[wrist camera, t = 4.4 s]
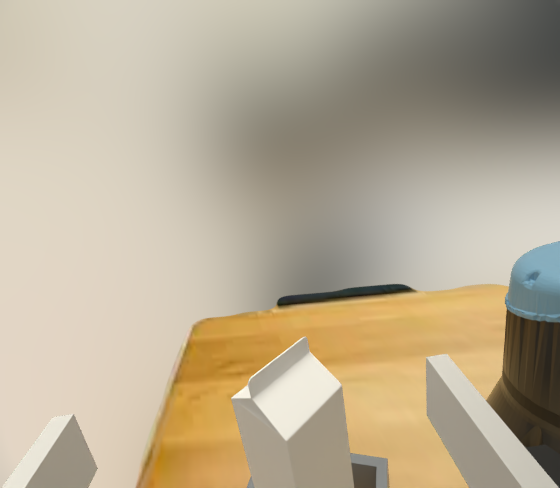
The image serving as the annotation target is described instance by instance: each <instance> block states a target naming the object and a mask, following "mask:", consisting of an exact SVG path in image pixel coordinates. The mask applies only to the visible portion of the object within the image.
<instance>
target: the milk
mask: <svg viewBox="0 0 560 488" xmlns="http://www.w3.org/2000/svg"><path fill="white" fill-rule="evenodd" d="M231 400H232V403H233V407H234V411H235V415H236V419H237V423H238V427H239V430H240V434H241V438H242V442H243V446H244V450H245V454H246V457H247V461H248V465H249V469H250V473H251V477H252V481H253V484H254V488H354V482H353V474H352V465H351V457H350V449H349V440H348V432H347V424H346V416H345V407H344V399H343V391H342V385H341V383H340V382H339V381H338V380H337V379H336V378H335V377H334V376H333V375H332V374H331V373H330V372H329V371H328V370H327V369H326V368H325V367H324V366H323V365H322V364H321V363H320V362H319V361H318V360H317V359H316V358H315V357H314V356H313V355H312V354H311V353H310V351H309V345H308V339H307V338H306V337H303V338H301V339H300V340H299V341H297V342H296V343H295V344H293V345H292V346H291V347H289V348H288V349H287V350H286V351H284V352H283V353H282V354H280V355H279V356H278V357H276V358H275V359H274V360H273V361H271V362H270V363H269V364H267V365H266V366H265V367H263V368H262V369H261V370H260V371H258V372H257V373H256V374H254V375H253V376H252V377H251V378H250V379H249V381H248V385H247V386H246V387H245V388H243V389H242V390H241V391H239V392H238V393H237V394H236V395H234V396H233V397H232V398H231Z"/></svg>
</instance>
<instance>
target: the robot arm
mask: <svg viewBox="0 0 560 488" xmlns="http://www.w3.org/2000/svg"><path fill="white" fill-rule="evenodd" d="M505 304H506V307H507V315H506V329H505V344H504V357H503V371H502V376H501V378H500V379H499V381H498V383H497V384H496V386H495V387H494V389H493V391H492V392H491V394H490V395H489V397H488V399H487V400H485V399H484V398H483V397H482V395H481V394H480V393H479V392H478V391H477V389H476V388H475V387H474V386H473V385H472V384H471V382H470V381H469V380H468V379H467V378H466V376H465V375H464V374H463V373H462V372H461V370H460V369H459V368H458V367H457V366H456V364H455V363H454V362H453V361H452V360H451V358H450V357H449V356H448V355H447V354H443V355H436V356H430V357H426V385H427V416H428V418H429V420H430V421H431V423H432V425H433V426H434V428H435V430H436V432H437V433H438V435H439V437H440V438H441V440H442V442H443V443H444V445H445V447H446V449H447V450H448V452H449V454H450V455H451V457H452V459H453V460H454V462H455V464H456V466H457V467H458V469H459V471H460V472H461V474H462V476H463V478H464V479H465V481H466V483H467V484H468V486H469V488H560V241H558V242H554V243H551V244H547V245H543V246H540V247H537V248H535V249H533V250H530V251H529V252H527V253H525V254H524V255H523V256H522V257H520V258H519V259H518V260H517V261H516V263H515V264H514V267H513V268H512V272H511V278H510V284H509V291H508V293H507V295H506V297H505ZM97 469H98V468H97V466H96V464H95V461H94V459H93V457H92V455H91V452H90V450H89V448H88V446H87V443H86V441H85V439H84V436H83V434H82V432H81V430H80V427H79V425H78V423H77V421H76V418H75V416H74V414H70V415H64V416H58V417H53V418H52V419H51V421H50V422H49V423H48V425H47V426H46V428H45V429H44V430H43V432H42V433H41V434H40V436H39V437H38V439H37V440H36V441H35V443H34V444H33V446H32V447H31V448H30V450H29V451H28V452H27V454H26V455H25V456H24V458H23V459H22V461H21V462H20V463H19V465H18V466H17V467H16V469H15V470H14V472H13V473H12V474H11V476H10V477H9V479H8V480H7V481H6V483H5V484H4V485H3V487H2V488H88V487H89V485H90V483H91V481H92V479H93V477H94V475H95V472H96V471H97Z"/></svg>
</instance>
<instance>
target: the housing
mask: <svg viewBox="0 0 560 488" xmlns="http://www.w3.org/2000/svg"><path fill="white" fill-rule="evenodd" d="M350 457H351V465H352V474H353V482H354V488H389V474H388V460H387V459H386V458H379V457H372V456H366V455H359V454H353V453H350ZM247 488H254V484H253V481H252V477H251V478H250V481H249V483H248V486H247Z"/></svg>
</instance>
